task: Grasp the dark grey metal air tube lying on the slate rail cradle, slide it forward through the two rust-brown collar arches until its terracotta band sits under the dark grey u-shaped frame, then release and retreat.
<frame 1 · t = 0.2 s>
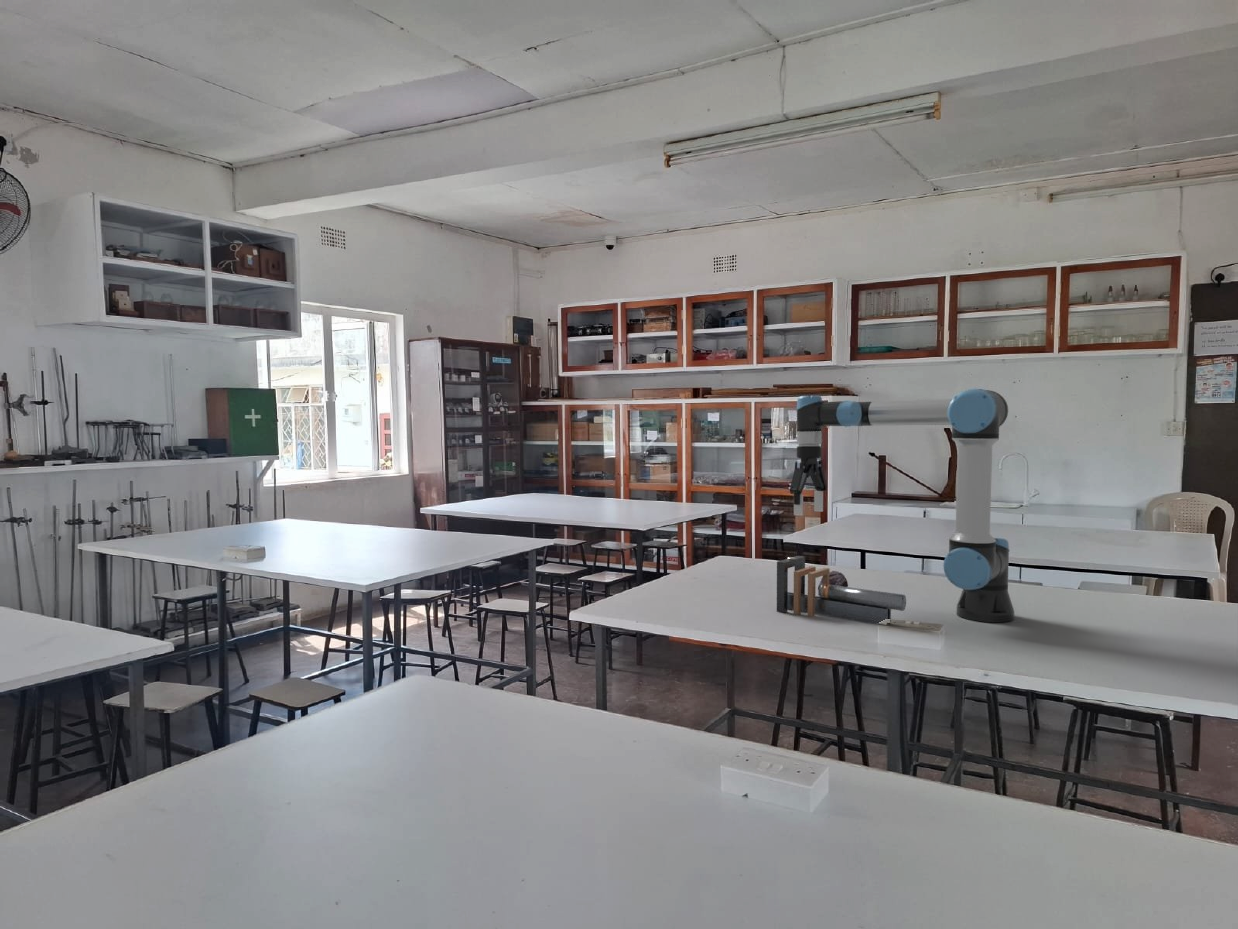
hand: (808, 513, 247), 28 cm above the table, fingers open, 13 cm apart
rock: (832, 601, 250), on the table
collar a: (818, 612, 233), resting in rail cradle
air tube: (861, 604, 225), point 4 cm above the table, touching rail cradle
collar b: (804, 610, 236), resting in rail cradle
dark grey u-shaped frame: (790, 608, 239), resting in rail cradle
rail cradle: (834, 615, 230), on the table
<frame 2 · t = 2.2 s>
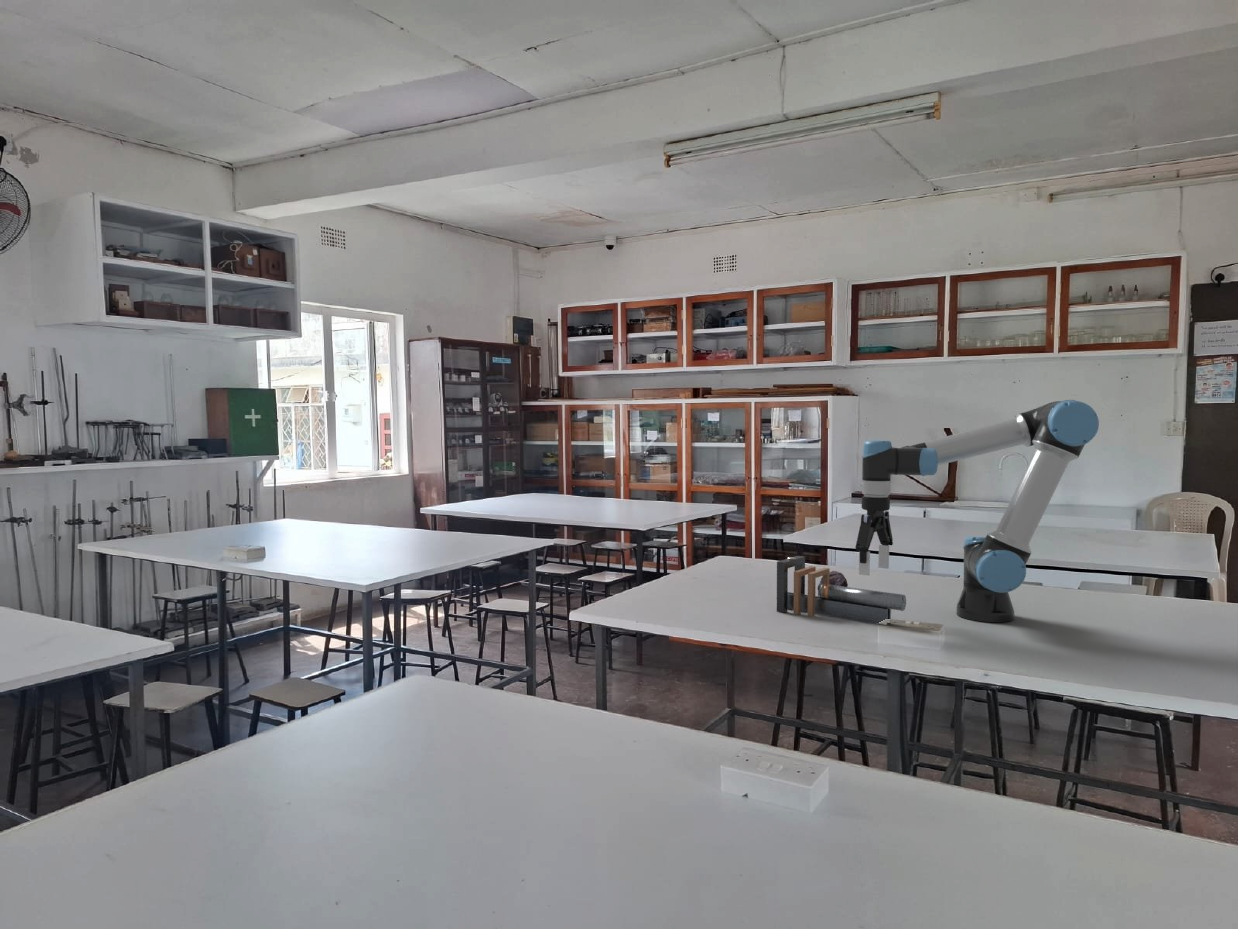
hand: (873, 571, 222), 14 cm above the table, fingers open, 13 cm apart
nothing on the table moved.
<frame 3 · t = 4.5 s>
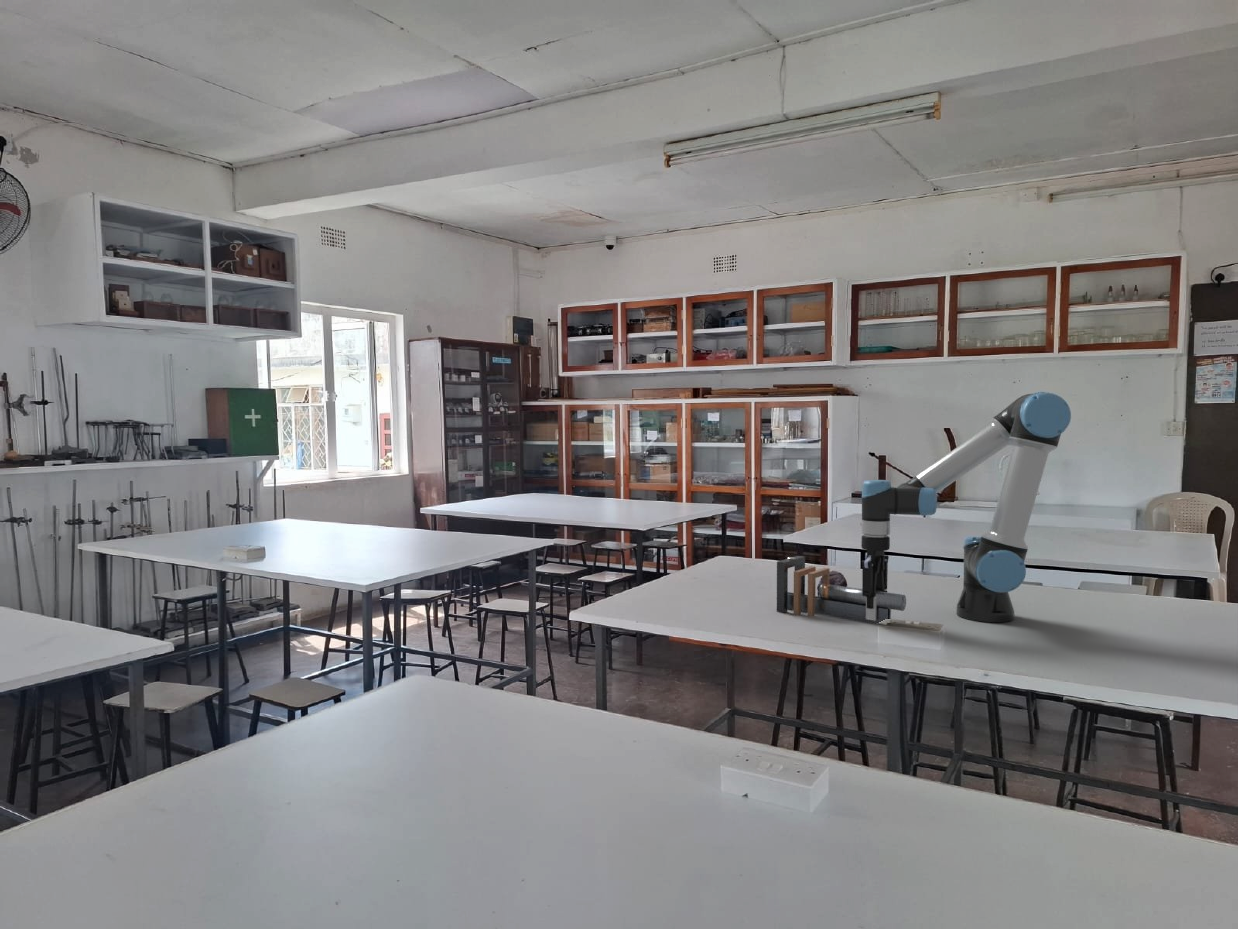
hand: (874, 617, 222), 1 cm above the table, fingers closed on air tube, 4 cm apart
air tube: (861, 604, 225), point 4 cm above the table, touching gripper, rail cradle
everything else where it was.
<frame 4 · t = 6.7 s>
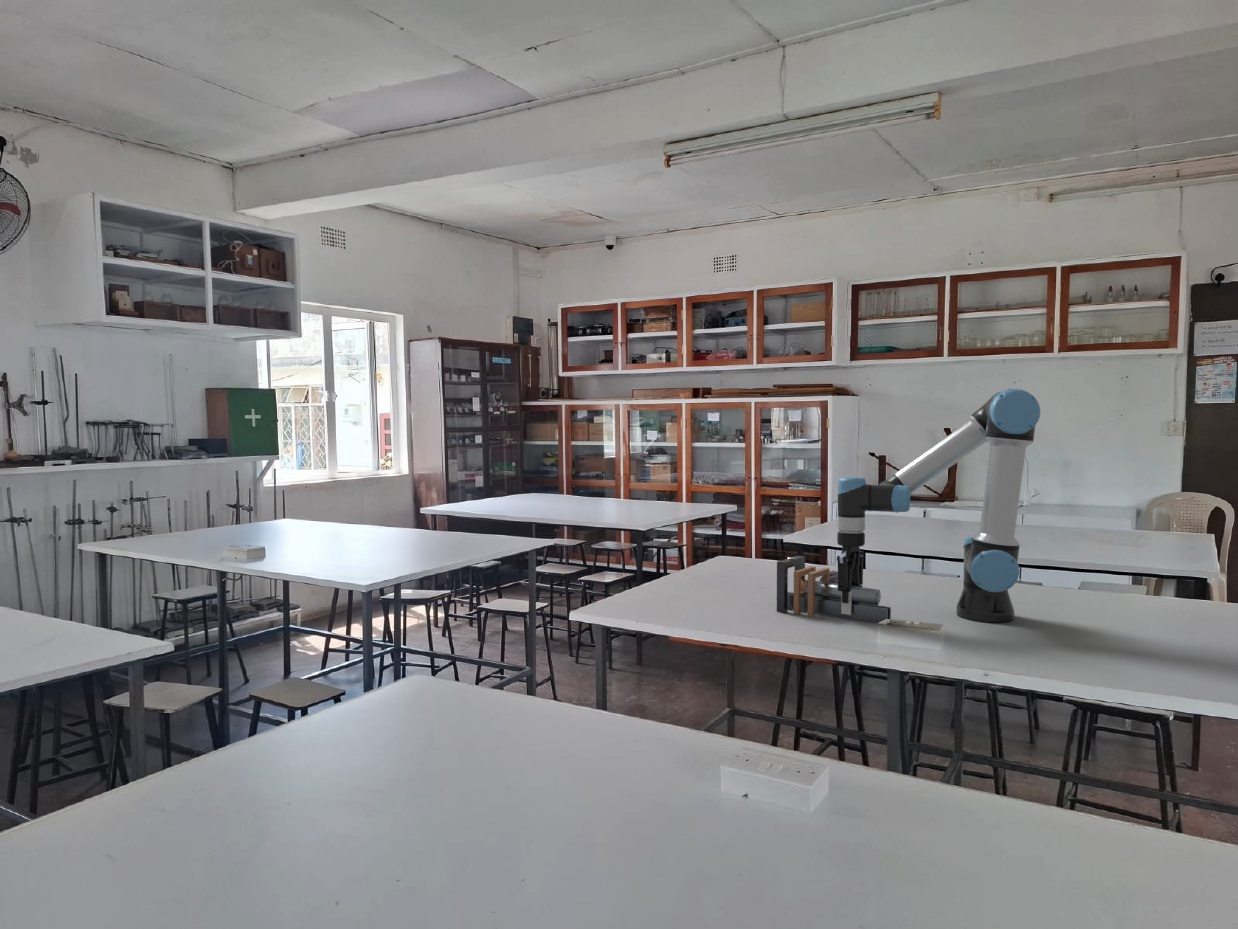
hand: (850, 612, 227), 2 cm above the table, fingers closed on air tube, 4 cm apart
air tube: (837, 599, 229), point 5 cm above the table, touching gripper
everything else where it was.
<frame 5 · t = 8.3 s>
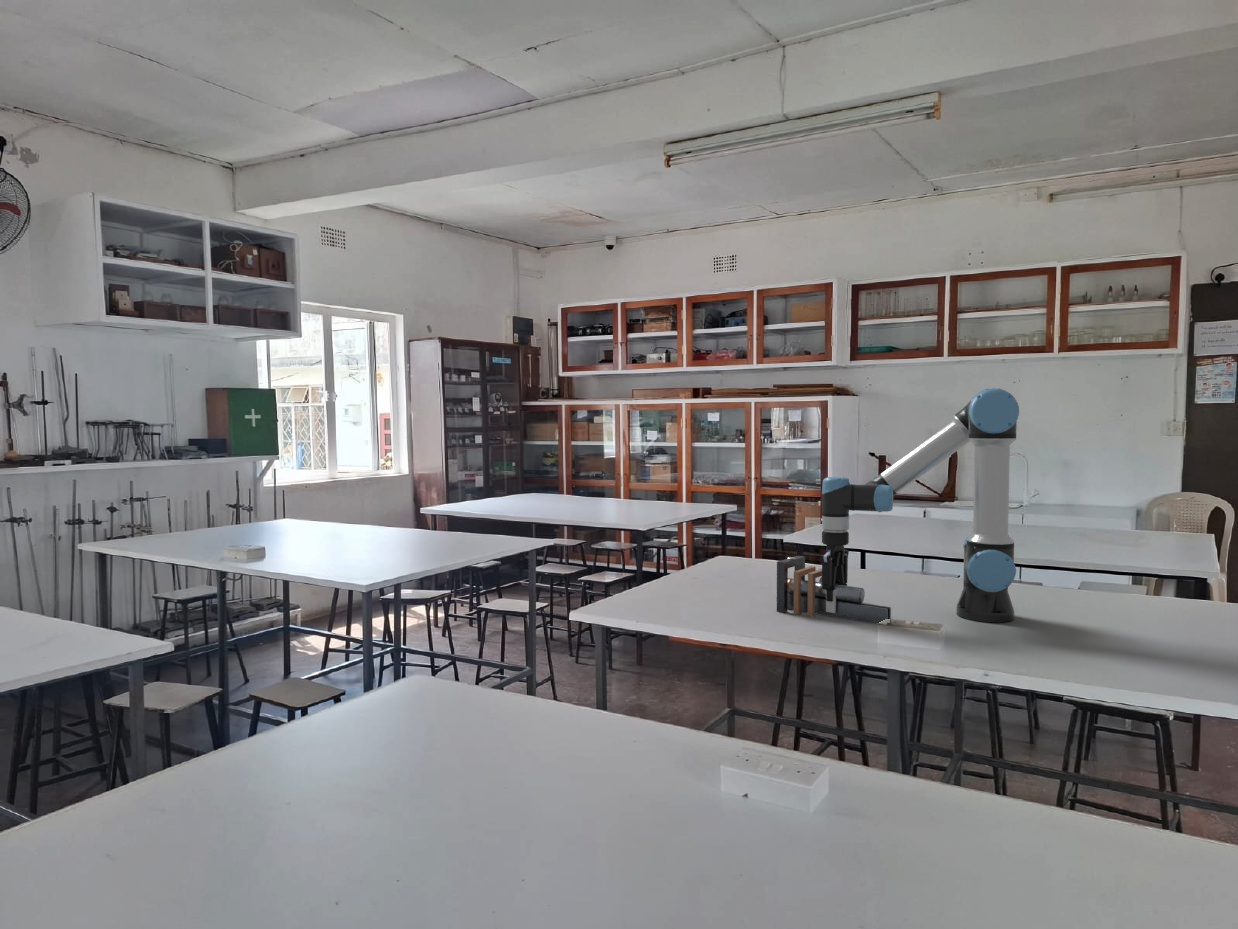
hand: (834, 610, 230), 2 cm above the table, fingers closed on air tube, 4 cm apart
air tube: (822, 597, 232), point 5 cm above the table, touching gripper
everything else where it was.
when the fingers open (1 cm above the table, at t = 9.2 s): air tube stays where it is, resting on rail cradle.
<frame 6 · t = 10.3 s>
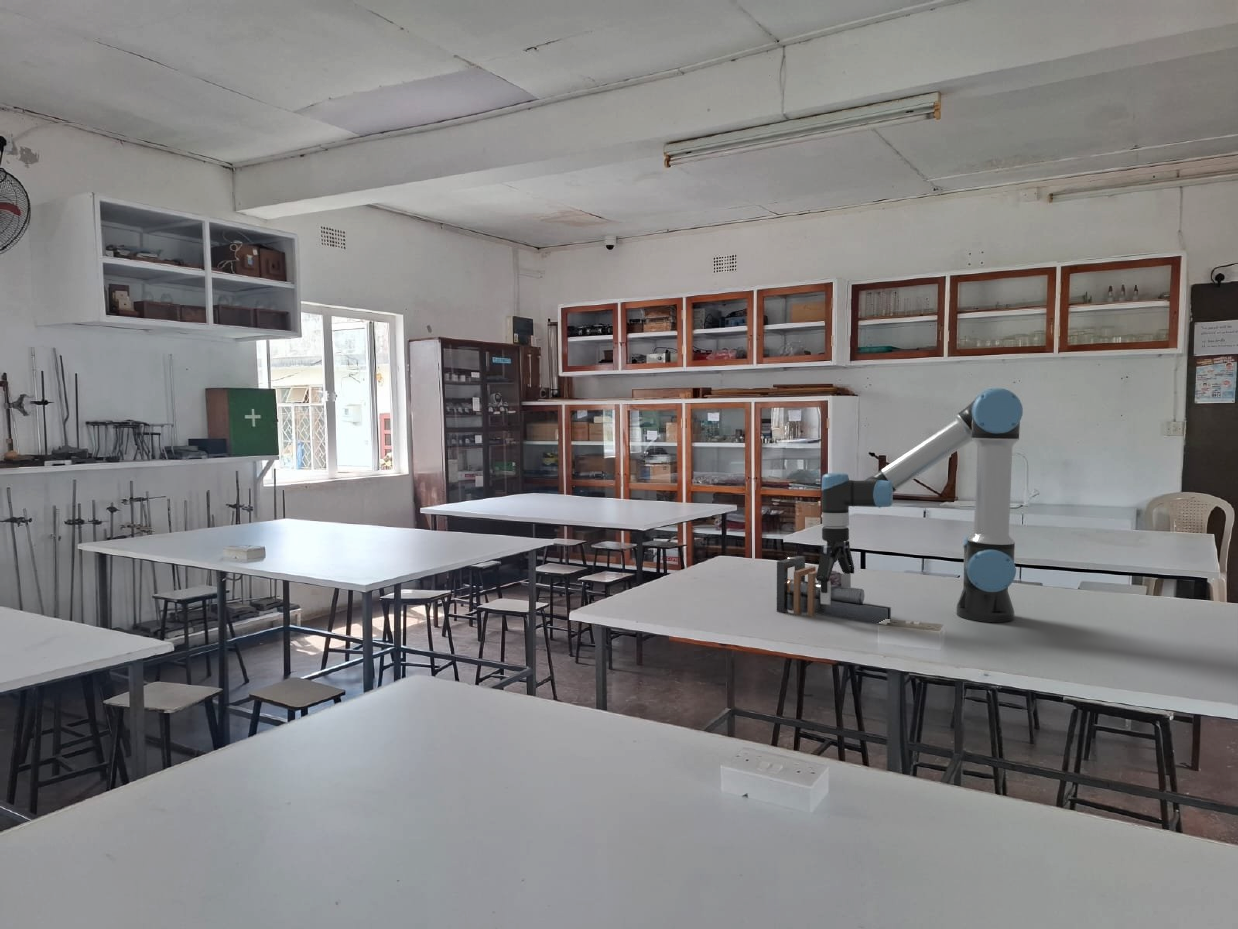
hand: (836, 599, 230), 5 cm above the table, fingers open, 13 cm apart
air tube: (821, 598, 232), point 4 cm above the table, touching rail cradle
everything else where it was.
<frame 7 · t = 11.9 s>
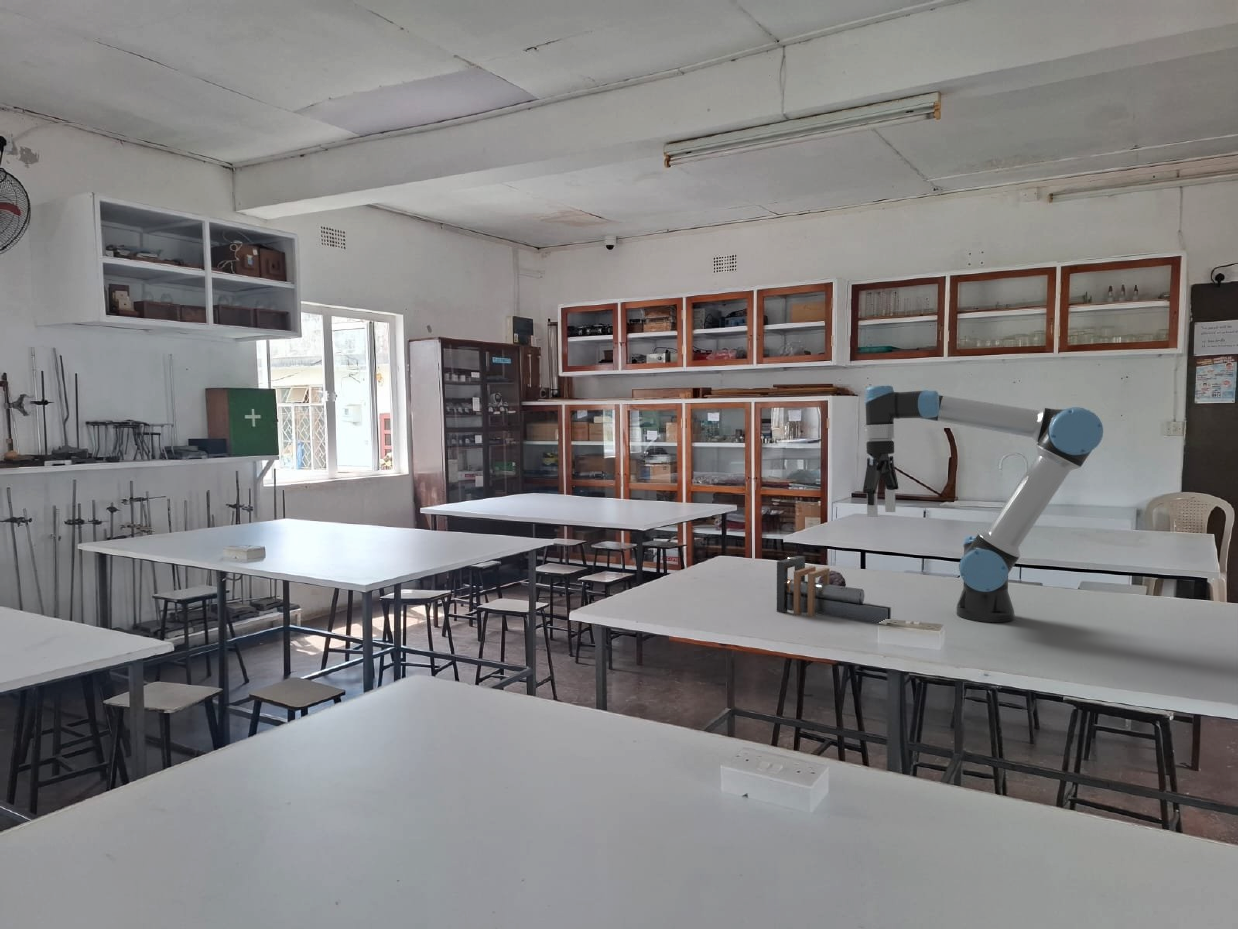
hand: (881, 514, 227), 30 cm above the table, fingers open, 13 cm apart
nothing on the table moved.
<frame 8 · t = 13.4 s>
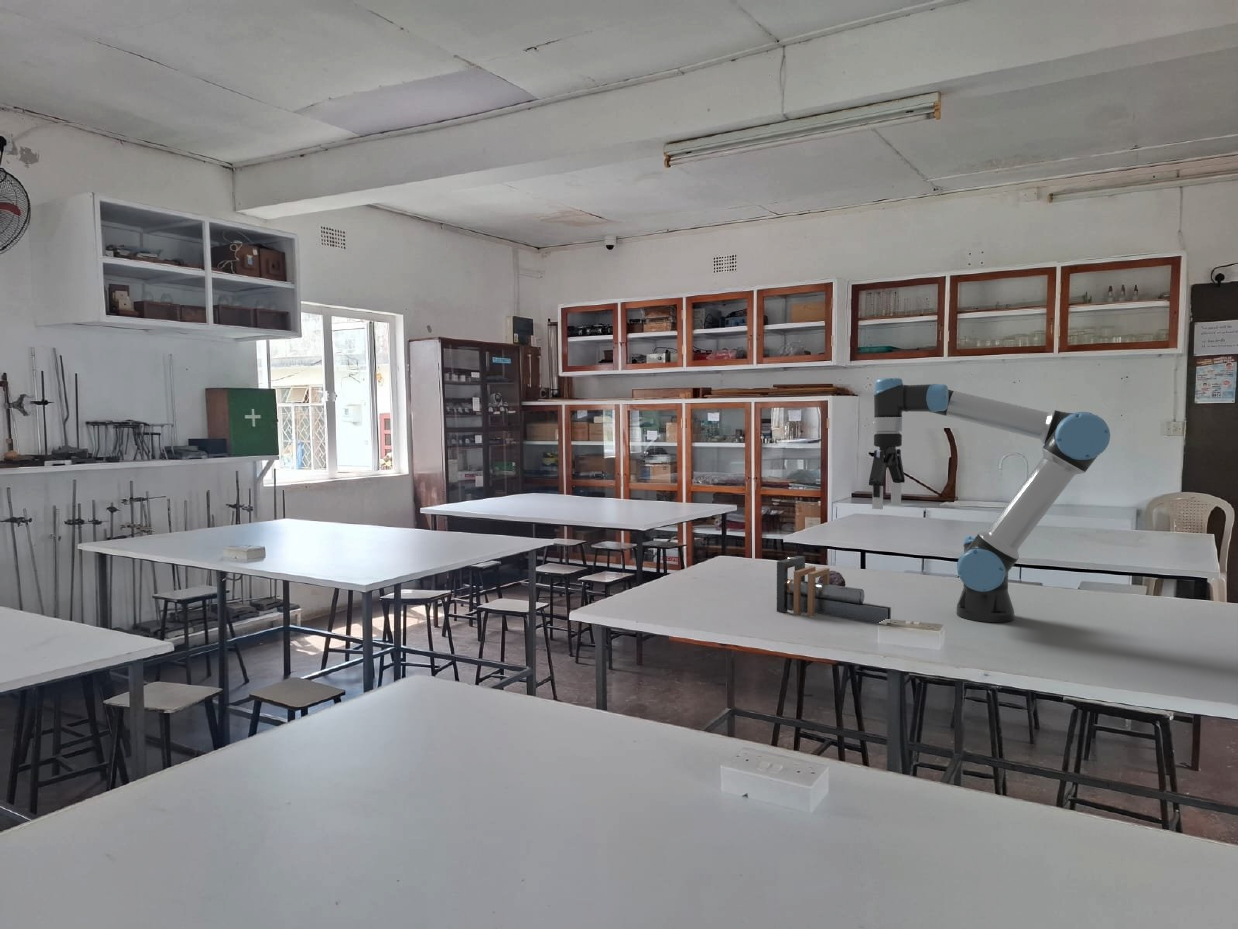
hand: (886, 507, 227), 32 cm above the table, fingers open, 13 cm apart
nothing on the table moved.
at the end: air tube 0.0 cm from the target spot, point 4.4 cm above the table; the gripper is holding nothing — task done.
